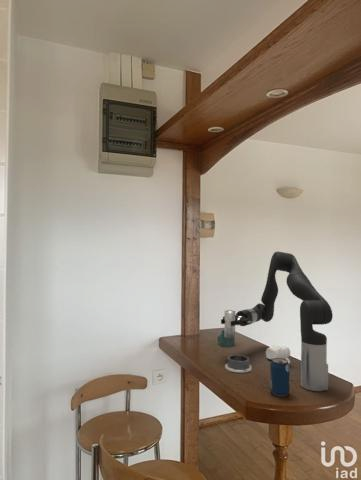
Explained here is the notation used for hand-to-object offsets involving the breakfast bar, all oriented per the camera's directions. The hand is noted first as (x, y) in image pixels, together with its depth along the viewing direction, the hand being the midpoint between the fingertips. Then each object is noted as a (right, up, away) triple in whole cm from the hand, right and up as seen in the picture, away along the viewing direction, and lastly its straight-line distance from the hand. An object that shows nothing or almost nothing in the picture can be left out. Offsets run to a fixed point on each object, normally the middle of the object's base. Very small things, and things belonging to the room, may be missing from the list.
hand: (226, 322), depth 163 cm
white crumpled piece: (+24, -19, +1) cm, 31 cm away
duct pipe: (+2, -7, +2) cm, 7 cm away
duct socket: (+4, -18, -8) cm, 20 cm away
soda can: (+15, -18, -34) cm, 41 cm away
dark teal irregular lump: (+3, -19, +29) cm, 35 cm away
